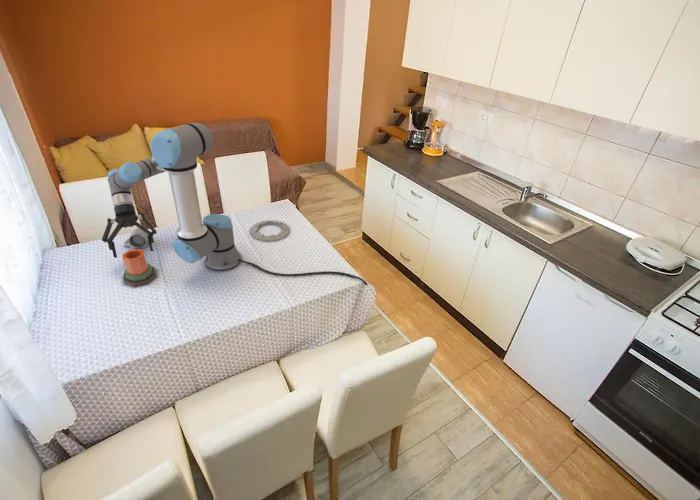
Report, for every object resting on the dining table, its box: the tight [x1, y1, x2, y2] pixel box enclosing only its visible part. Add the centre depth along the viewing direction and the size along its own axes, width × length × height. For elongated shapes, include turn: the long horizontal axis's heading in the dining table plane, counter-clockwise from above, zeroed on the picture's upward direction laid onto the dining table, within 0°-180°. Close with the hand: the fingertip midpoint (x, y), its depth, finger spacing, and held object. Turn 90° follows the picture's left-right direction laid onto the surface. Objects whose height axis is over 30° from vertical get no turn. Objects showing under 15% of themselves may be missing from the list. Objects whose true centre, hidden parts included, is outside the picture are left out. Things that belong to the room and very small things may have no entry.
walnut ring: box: [123, 266, 157, 288], centre depth 162 cm, size 12×12×2 cm
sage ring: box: [124, 263, 153, 281], centre depth 161 cm, size 10×10×2 cm
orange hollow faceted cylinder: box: [122, 248, 149, 276], centre depth 158 cm, size 8×8×8 cm
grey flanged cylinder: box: [124, 227, 149, 249], centre depth 180 cm, size 11×8×8 cm
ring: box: [250, 220, 290, 242], centre depth 199 cm, size 19×19×2 cm
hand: (133, 253), depth 159 cm, fingers open, 13 cm apart
